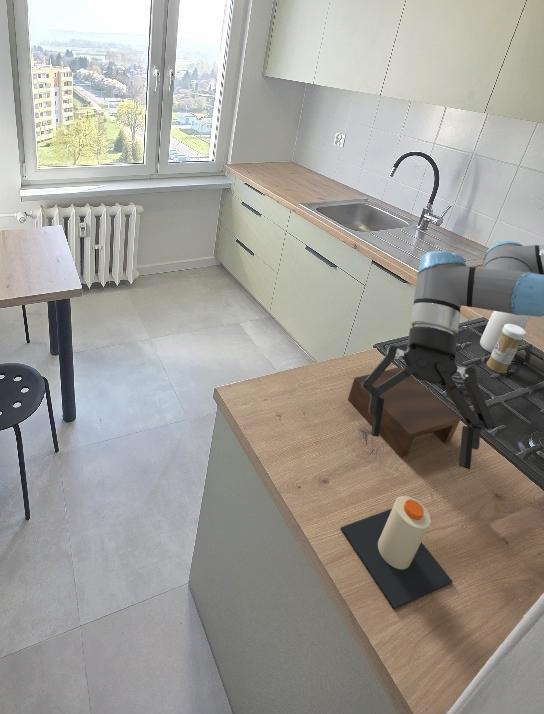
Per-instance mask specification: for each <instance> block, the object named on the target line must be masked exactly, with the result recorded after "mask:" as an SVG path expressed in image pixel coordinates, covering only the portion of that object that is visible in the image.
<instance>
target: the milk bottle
mask: <svg viewBox="0 0 544 714" xmlns="http://www.w3.org/2000/svg"><path fill="white" fill-rule="evenodd" d="M528 321H529V316H527V315H514V314H510V313H504V312H498V311H492V313H491V315H490V317H489V320H488V322H487V324H486V326H485V329H484V331H483V333H482V335H481V337H480V340H479V345H480V346H481V348H482V349H483V350H485V351H486V352H489V353H490V354H491V353H492V351H493V349H494V347H495V345H496V343H497V342H498V340H499V338H500V336H501V334H502V329H503V327H504V325H505V324H514V325H517V326H519V327H521V328H522V329H524V330H525V329H526V326H527V324H528Z"/></svg>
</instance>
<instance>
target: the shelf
mask: <svg viewBox="0 0 544 714" xmlns="http://www.w3.org/2000/svg"><path fill="white" fill-rule="evenodd" d="M403 369H404V368H403V367H402V366H398V367H393V368H389V369H386V370H385V371H384V372H383V373H382V374H381V375H380V377H379V378H378V379H377V380H376V381H375V382H374V384H373V385H372V386H373V387H374V388H376V387H378V386H379V385H381V384H382V383H384V382H385V381H387V380H388V379H390V378H391V377H393V376H395V375H396V374H398V373H399V372H400V371H402V370H403ZM370 374H371V373H369V374H365V375H361V376H356V377H354V378H353V380H352V381H353V382H352V385H351V388H350V391H349V395H348V397H347V400H348V402H349V403H350V404H351V405H352V406H353V407H354V409H356V410H357V412H358V413H359V414H360V415H361V416H362V417H363V418H364V419H365V420H366V422H367V423H368V424H369V425H370V426H371V427H372V425H373V419H374V415H372V414H369V411H368V409H369V403H370V397H371V396H370V394H369V393H368V392H367V391H366V390H364V389H362V387H361V384H362V383H363V382H364V381H365V380H366V378H367V377H368V376H369V375H370ZM379 398H383V399H384V404H383V411H382V417H381V423H380V430H379V436H380V437H381V438H382V439H383V440H384V442H386V443H387V445H388V446H389V447H390V448H391V449H392V450H393V451H394V452H395V453H396V454H397V455H398V457H399V458H405V457H407V455H408V453H409V451H410V448H411V446H412V443H413V441H414V439H415V438H417V437H420V436H423V435H427V434H429V433H433V434H434V435H435V436H436V437H437V438H438V439H439V440H440V441H441V442H443V444H447V443H450V442H451V440H453V439H452V438H453V437H454V435H455V432H456V430H457V428H458V425H459V423H460V421H461V418H460V417H459V416H458V415H457V414H456V413H454V411H452V410H451V409H450V408H449V407H448V406H447V405H445V404H444V403H443V402H442V401H441V400H440V399H439V398H438V397H436V396H435V395H434V394H432V392H430V391H429V390H428V389H427V388H426V387H425V386H423V385H422V384H421V383H420V382H419V381H418V380H417V379H416V378H415V377H414V376H413V375H410V376H409V377H407V378H406V379H404V380H402V381H401V382H399V383H398V384H396V385H395V386H393V387H392V388H390V389H389V390H387V391H386V392H384V393H383V394H381V395H380V397H379Z"/></svg>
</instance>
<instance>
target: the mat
mask: <svg viewBox="0 0 544 714" xmlns="http://www.w3.org/2000/svg"><path fill="white" fill-rule="evenodd" d="M391 510H392V508H389V509H387V510H384V511H381V512H379V513H377V514H373V515H370V516H368V517H365V518H363V519H360V520H357V521H354V522H351V523H349V524H346V525H344V526H340V530H341V532H342V533H343V535H344V536H345V538H346V540H347V541H348V543H349V544H350V545H351V547H352V549H353V550H354V552H355V553H356V555H357V556H358V558H359V559H360V561H361V562H362V564H363V565H364V567H365V569H366V570H367V572H368V573H369V574H370V576H371V577H372V579H373V580H374V582H375V584H376V585H377V586H378V588H379V589H380V591H381V593H382V594H383V596H384V598H385V599H386V601H387V602H388V603H389V605H390V606H391V608H392V610H397V609H398V608H401V607H403V606H405V605H407V604H409V603H411V602H413V601H415V600H418V599H420V598H422V597H424V596H427V595H429V594H431V593H433V592H436V591H437V590H439V589H442V588H444V587H446V586H449V585H450V584H452V583H453V580H452V579H451V577H450V576H449V574H447V572H446V571H445V570H444V568H443V567H442V566H441V565H440V563H439V562H438V561H437V559H436V558H435V557H434V556H433V555H432V553H431V552H430V551H429V550H428V548H427V547H426V546H425V545H424V543H423V542H421V544H420V546H419V548H418V550H417V552H416V554H415V556H414V558H413V560H412V562H411V564H410V566H409V567H408V568H406V569H397V568H394V567H392V566H391V565H389V564H388V563H387V562H386V561H385V560H384V559H383V557H382V556H381V554H380V552H379V549H378V541H379V539H380V536H381V534H382V531H383V529H384V527H385V524H386V522H387V520H388V517H389V515H390V513H391Z"/></svg>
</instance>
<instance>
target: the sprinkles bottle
mask: <svg viewBox="0 0 544 714" xmlns="http://www.w3.org/2000/svg"><path fill="white" fill-rule="evenodd" d="M526 335H527V332H526V330H525V329H522V328H521V327H519V326H517V325H514V324H505V325H504V327H503V329H502V334H501V336H500V338H499V340H498V342H497V343H496V345H495V347H494V349H493V351H492V353H490V356H489V358H488V360H487V361H486V366H487V368H489V369H490V370H491V371H493V372H495V373H500V374H506V373H507V372H508V368H509V366H510V364H511V363H512V361H513V360H514V357H515V355H516V353H517V352H518V350H519V347H520V345H521V343H522V341H523V340H524V339H525V337H526Z"/></svg>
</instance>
